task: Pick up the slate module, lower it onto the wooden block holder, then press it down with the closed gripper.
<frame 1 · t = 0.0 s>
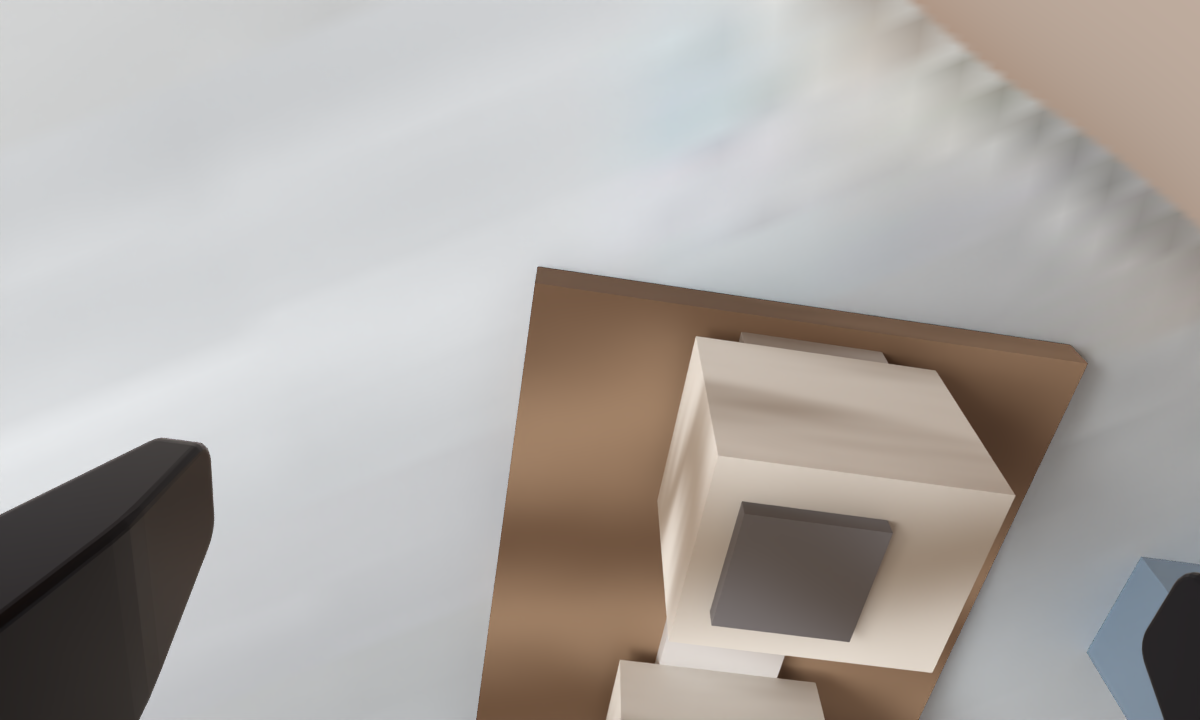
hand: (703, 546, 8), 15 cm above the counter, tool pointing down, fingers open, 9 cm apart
wooden block holder: (734, 559, 28), on the counter
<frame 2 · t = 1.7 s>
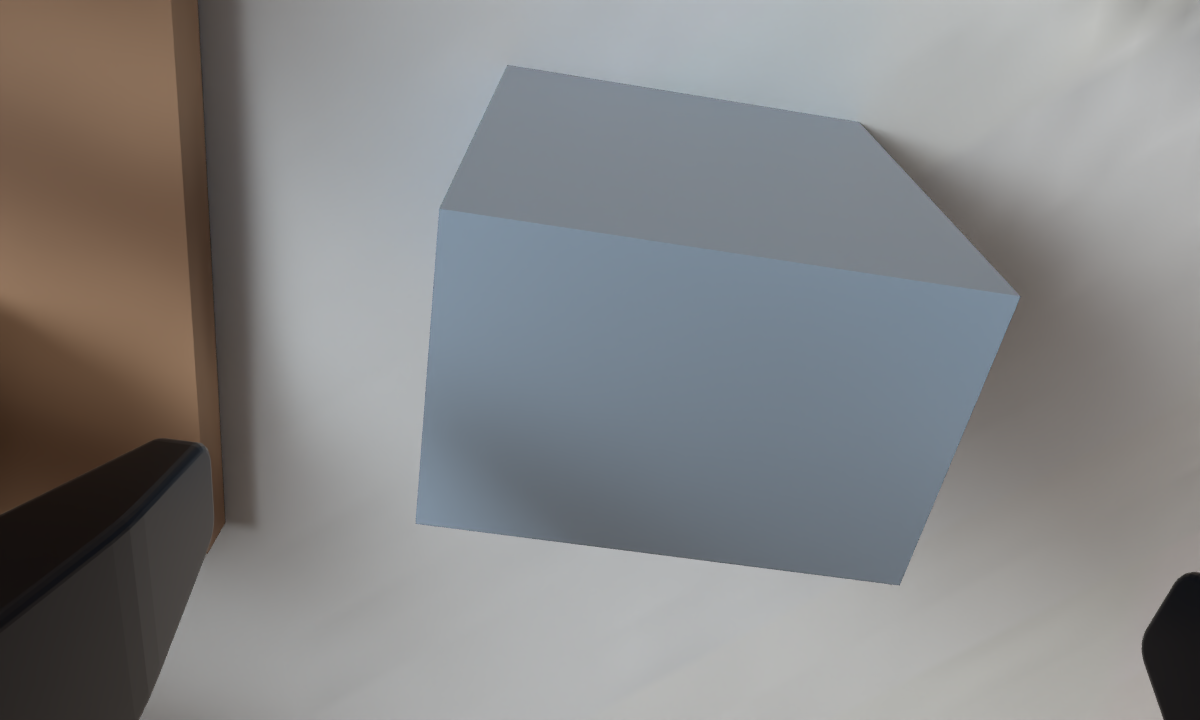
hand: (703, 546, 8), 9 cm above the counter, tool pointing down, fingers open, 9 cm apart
slate module: (663, 206, 16), on the counter
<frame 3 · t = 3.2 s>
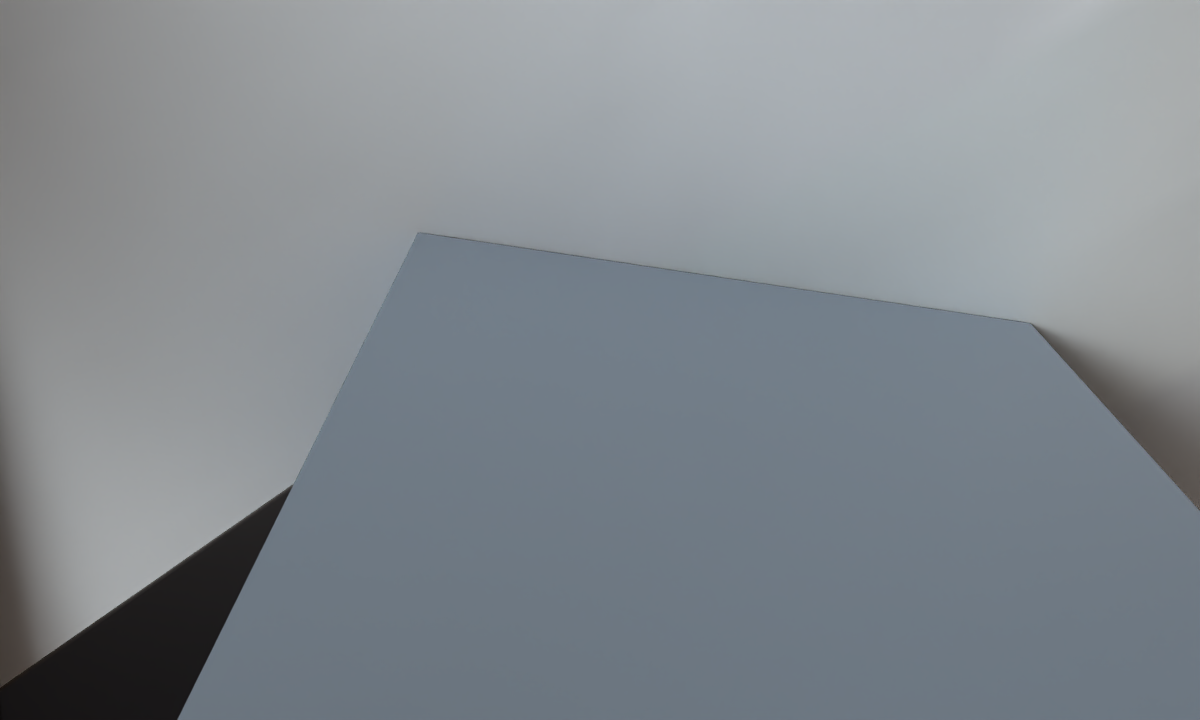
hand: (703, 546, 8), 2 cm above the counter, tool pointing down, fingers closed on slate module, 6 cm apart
slate module: (689, 449, 10), on the counter, touching gripper
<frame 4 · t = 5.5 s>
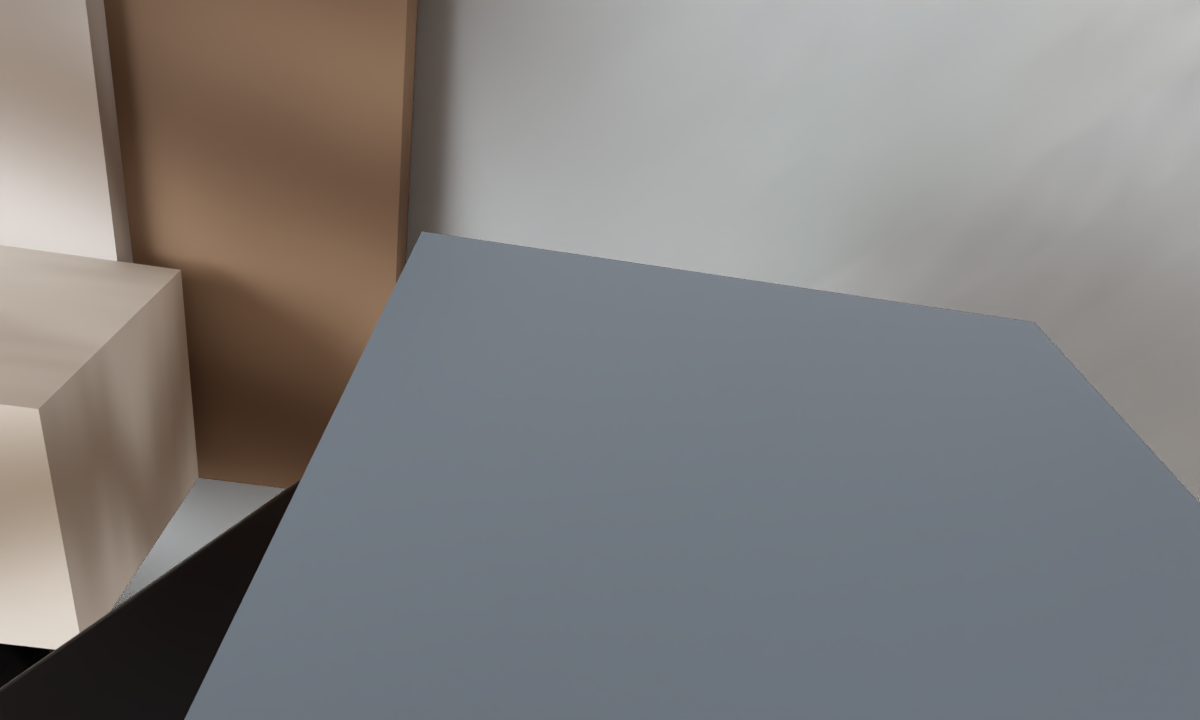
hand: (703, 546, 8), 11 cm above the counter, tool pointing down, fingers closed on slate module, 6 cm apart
slate module: (692, 448, 10), point 10 cm above the counter, touching gripper
wooden block holder: (42, 70, 17), on the counter
when the fingers open (4 cm above the counter, at t = 8.1 s): slate module drops 1 cm, resting on wooden block holder.
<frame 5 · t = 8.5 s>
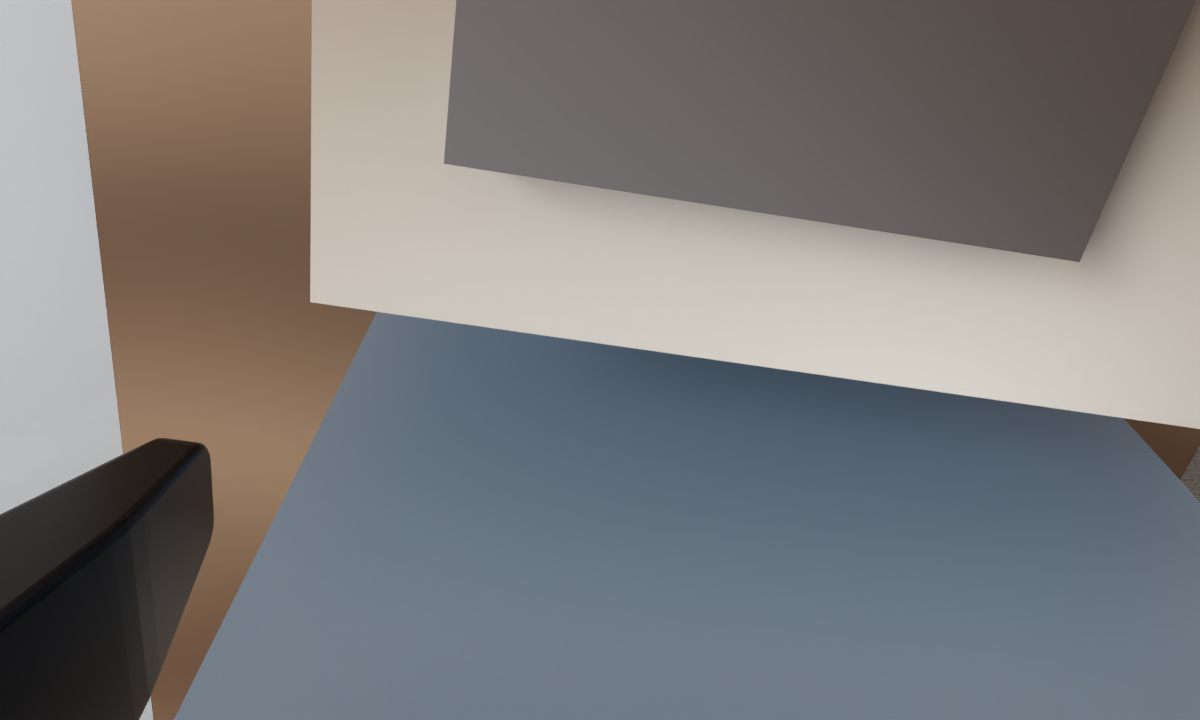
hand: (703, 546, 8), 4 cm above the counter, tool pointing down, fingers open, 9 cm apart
slate module: (681, 381, 11), point 2 cm above the counter, touching wooden block holder
wooden block holder: (673, 322, 12), on the counter
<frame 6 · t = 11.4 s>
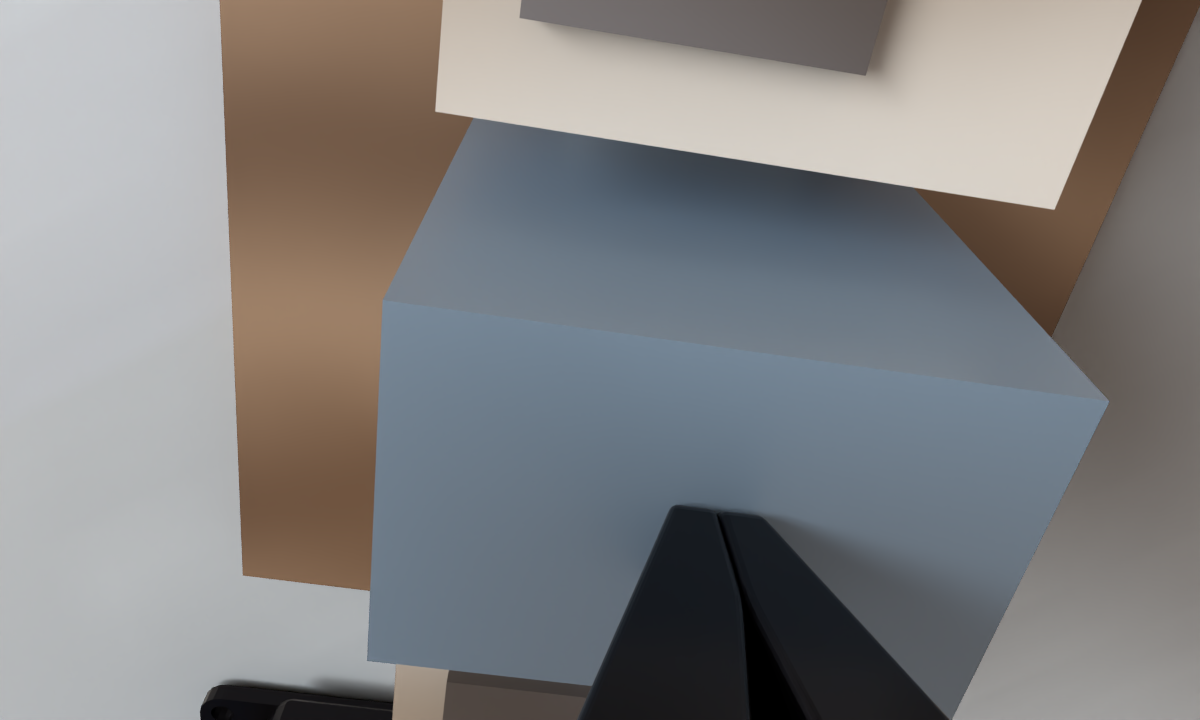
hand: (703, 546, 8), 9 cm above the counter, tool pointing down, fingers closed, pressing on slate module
slate module: (662, 250, 14), point 2 cm above the counter, touching gripper, wooden block holder
wooden block holder: (658, 216, 16), on the counter
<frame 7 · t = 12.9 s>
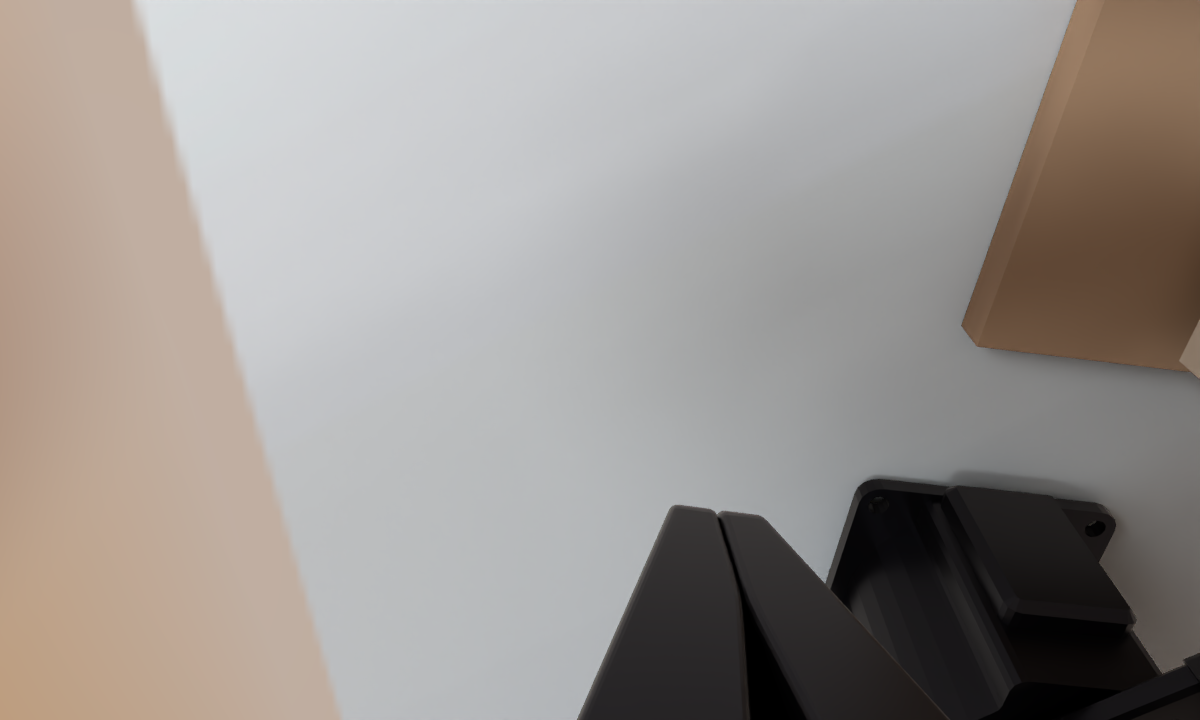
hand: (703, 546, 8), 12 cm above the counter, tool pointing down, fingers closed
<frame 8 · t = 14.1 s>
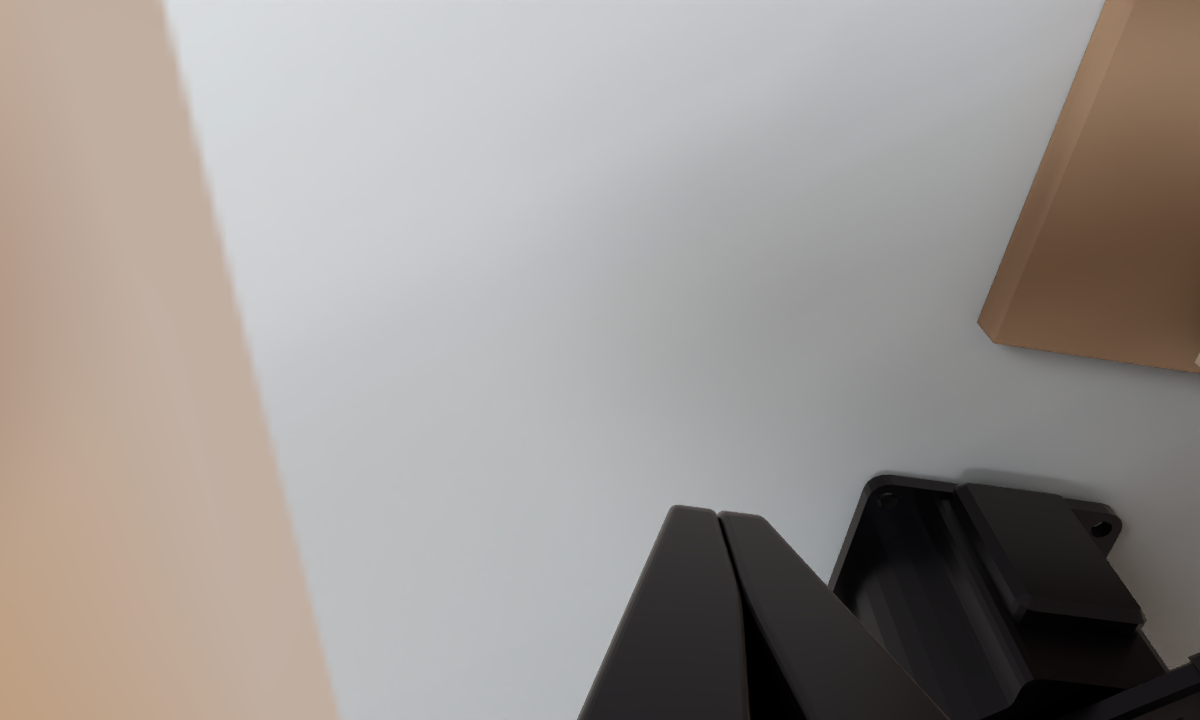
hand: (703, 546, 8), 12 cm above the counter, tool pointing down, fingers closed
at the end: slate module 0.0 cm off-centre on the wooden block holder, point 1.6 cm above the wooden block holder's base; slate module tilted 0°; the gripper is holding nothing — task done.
